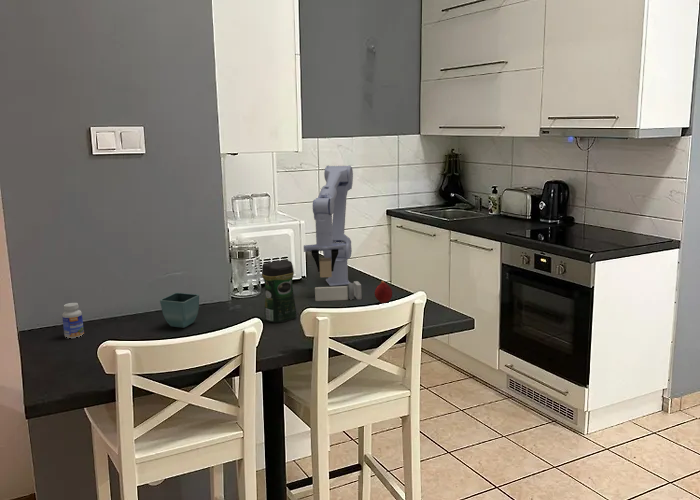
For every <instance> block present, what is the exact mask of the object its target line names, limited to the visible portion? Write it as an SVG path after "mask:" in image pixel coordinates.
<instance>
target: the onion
mask: <svg viewBox="0 0 700 500" xmlns="http://www.w3.org/2000/svg"><path fill="white" fill-rule="evenodd" d="M374 297H375V299H376V300H377V301H378V302H379V303H380V304H382V303H385V304H386V303H388V302H389V301H390V300H391V299H392V298H393V290H392V287H391V286H390V285H389V284H388V283H386V282H385V281H384V280H381V281H380V283H379V285H377V287H376V288H375V290H374Z"/></svg>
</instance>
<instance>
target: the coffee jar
mask: <svg viewBox="0 0 700 500" xmlns="http://www.w3.org/2000/svg"><path fill="white" fill-rule="evenodd" d="M294 274H295V272H294V265H293V263H292V261H290V260H287V259H281V260H274V261H269V262H265V263H263V264H262V266H261V277H262V279H263V282H264V319H265V320H266V321H267V322H269V323H284V322H287V321H290V320H293V319H296V318H297V308H296V301H295V295H294V289H293V278H294Z"/></svg>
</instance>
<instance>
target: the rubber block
mask: <svg viewBox="0 0 700 500" xmlns="http://www.w3.org/2000/svg"><path fill="white" fill-rule="evenodd" d="M319 264H320V272H319V277H320V278H328V277H332V271H331V258H325V257H319Z"/></svg>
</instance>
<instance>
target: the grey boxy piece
mask: <svg viewBox="0 0 700 500" xmlns="http://www.w3.org/2000/svg"><path fill="white" fill-rule="evenodd" d="M347 289H348V300H349V299H350V301H353V300H352V299H354V300H355V298H356V300H362V284H361V283H360V282H359V281H358V280H355V281H353V282H350V283H349V284H348V285H347Z"/></svg>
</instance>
